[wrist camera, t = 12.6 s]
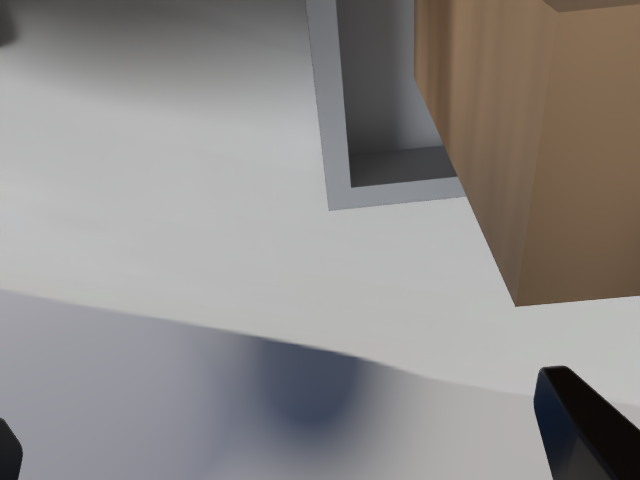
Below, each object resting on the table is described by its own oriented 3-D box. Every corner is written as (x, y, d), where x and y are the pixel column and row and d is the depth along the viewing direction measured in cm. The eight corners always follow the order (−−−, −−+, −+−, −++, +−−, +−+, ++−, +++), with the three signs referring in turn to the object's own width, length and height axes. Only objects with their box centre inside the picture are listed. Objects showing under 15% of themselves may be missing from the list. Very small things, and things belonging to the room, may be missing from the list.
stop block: (413, 76, 19) (515, 306, 10) (414, -98, 16) (557, 13, 7) (567, 61, 19) (806, 280, 10) (596, -118, 16) (969, -30, 7)
